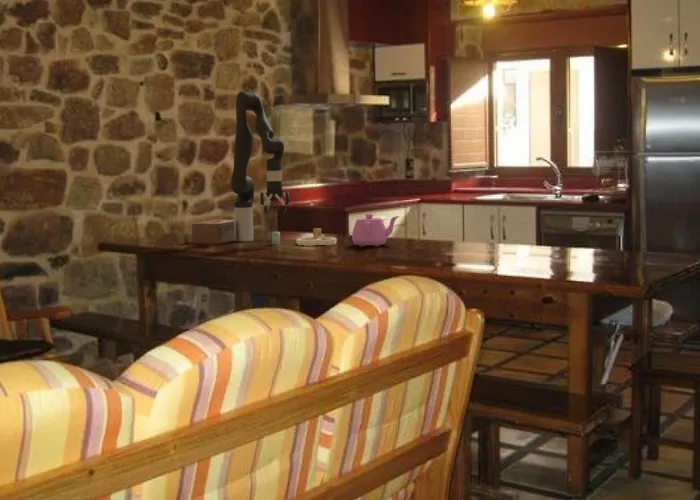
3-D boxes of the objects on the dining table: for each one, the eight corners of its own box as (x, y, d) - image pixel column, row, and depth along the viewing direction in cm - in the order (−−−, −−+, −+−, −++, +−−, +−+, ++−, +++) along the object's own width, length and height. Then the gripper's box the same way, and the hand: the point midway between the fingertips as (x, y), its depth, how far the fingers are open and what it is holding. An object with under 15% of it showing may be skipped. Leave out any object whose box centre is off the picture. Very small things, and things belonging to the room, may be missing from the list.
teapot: (349, 248, 436) (349, 216, 435) (354, 243, 457) (353, 212, 455) (398, 248, 434) (398, 215, 432) (400, 243, 455) (400, 212, 453)
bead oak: (314, 240, 466) (314, 228, 466) (322, 240, 465) (321, 228, 465) (312, 241, 462) (312, 229, 462) (320, 241, 462) (320, 229, 461)
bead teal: (271, 244, 459) (270, 232, 458) (273, 243, 463) (272, 231, 462) (278, 244, 458) (278, 232, 458) (281, 243, 462) (280, 231, 461)
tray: (293, 245, 451) (292, 240, 451) (302, 241, 470) (302, 236, 470) (331, 245, 448) (331, 240, 447) (339, 241, 466) (339, 236, 466)
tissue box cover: (217, 243, 470) (216, 224, 469) (192, 243, 476) (191, 223, 474) (241, 238, 494) (241, 219, 493) (217, 238, 499) (217, 219, 498)
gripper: (290, 179, 460) (291, 212, 461) (262, 180, 462) (263, 212, 464) (286, 180, 452) (287, 213, 454) (258, 180, 455) (259, 214, 457)
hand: (275, 213), depth 459 cm, fingers open, 8 cm apart
